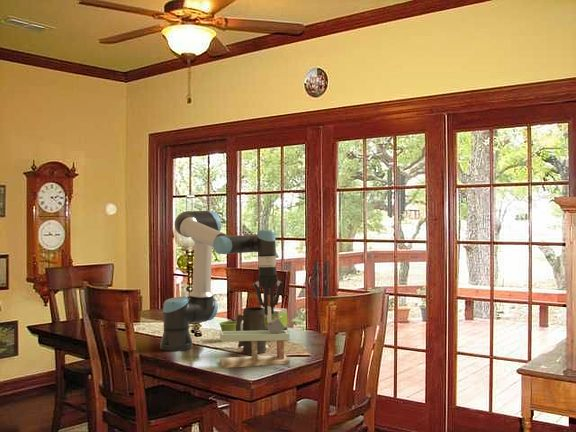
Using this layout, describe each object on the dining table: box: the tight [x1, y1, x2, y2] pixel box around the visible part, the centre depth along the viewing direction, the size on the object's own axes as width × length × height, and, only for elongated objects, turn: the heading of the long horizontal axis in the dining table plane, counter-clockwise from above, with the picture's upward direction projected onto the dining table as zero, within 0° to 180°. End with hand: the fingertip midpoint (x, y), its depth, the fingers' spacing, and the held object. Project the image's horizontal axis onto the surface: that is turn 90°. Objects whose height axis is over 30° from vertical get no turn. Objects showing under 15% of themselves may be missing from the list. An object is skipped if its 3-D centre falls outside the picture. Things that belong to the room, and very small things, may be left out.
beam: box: [219, 330, 290, 342], centre depth 259 cm, size 28×8×3 cm, turn 101°
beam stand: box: [219, 340, 291, 369], centre depth 259 cm, size 28×11×10 cm, turn 101°
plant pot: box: [219, 320, 237, 331], centre depth 308 cm, size 9×9×9 cm
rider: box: [265, 317, 285, 334], centre depth 260 cm, size 5×5×6 cm
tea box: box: [260, 306, 288, 332], centre depth 313 cm, size 15×10×15 cm, turn 62°
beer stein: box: [236, 306, 267, 354], centre depth 279 cm, size 15×11×20 cm
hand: (269, 322), depth 260 cm, fingers closed
